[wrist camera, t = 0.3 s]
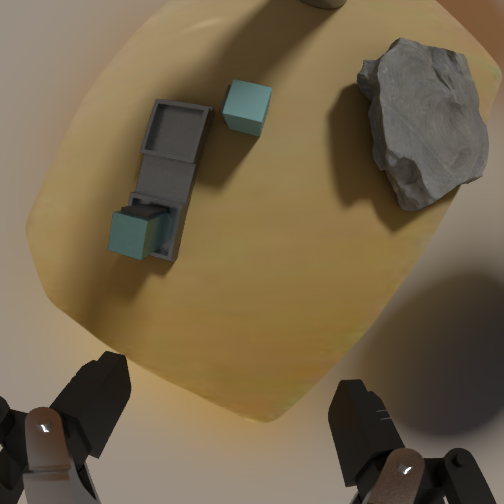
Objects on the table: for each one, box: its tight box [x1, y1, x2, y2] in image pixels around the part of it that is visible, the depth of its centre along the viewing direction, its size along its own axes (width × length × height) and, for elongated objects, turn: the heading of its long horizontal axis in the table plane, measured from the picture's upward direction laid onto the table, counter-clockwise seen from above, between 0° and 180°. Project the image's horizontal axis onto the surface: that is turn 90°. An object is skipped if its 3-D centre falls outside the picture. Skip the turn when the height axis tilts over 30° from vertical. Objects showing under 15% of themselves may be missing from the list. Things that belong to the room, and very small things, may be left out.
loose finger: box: [220, 79, 272, 137], centre depth 28 cm, size 4×4×8 cm
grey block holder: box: [108, 99, 215, 262], centre depth 29 cm, size 20×7×10 cm, turn 165°
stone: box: [357, 38, 489, 211], centre depth 27 cm, size 24×8×25 cm
